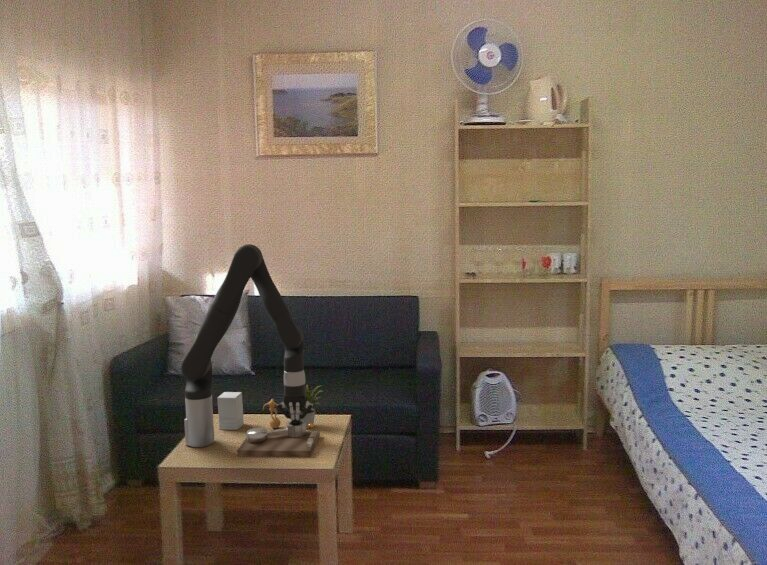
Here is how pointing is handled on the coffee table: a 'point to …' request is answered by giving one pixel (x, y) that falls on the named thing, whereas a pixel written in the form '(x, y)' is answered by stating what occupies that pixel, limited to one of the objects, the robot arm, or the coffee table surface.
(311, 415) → the house plant
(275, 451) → the stand base
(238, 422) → the supplement box
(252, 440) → the baby rattle
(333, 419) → the coffee table surface
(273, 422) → the figurine
